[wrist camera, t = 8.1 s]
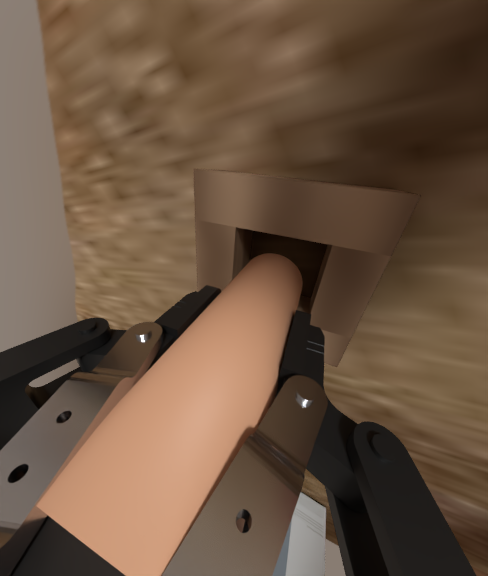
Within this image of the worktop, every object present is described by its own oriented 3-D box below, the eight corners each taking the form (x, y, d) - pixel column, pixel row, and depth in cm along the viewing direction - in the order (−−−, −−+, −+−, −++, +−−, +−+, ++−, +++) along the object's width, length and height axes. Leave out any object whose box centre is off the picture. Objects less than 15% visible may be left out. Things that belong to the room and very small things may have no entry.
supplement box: (279, 476, 36) (253, 635, 23) (327, 506, 35) (325, 689, 22) (260, 487, 41) (230, 623, 28) (301, 514, 40) (288, 666, 27)
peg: (309, 260, 12) (218, 647, 2) (295, 314, 14) (213, 638, 4) (246, 247, 13) (-12, 469, 3) (241, 299, 15) (73, 532, 5)
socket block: (397, 190, 13) (421, 195, 9) (335, 333, 19) (337, 367, 15) (222, 170, 16) (193, 169, 12) (218, 299, 22) (198, 321, 19)
